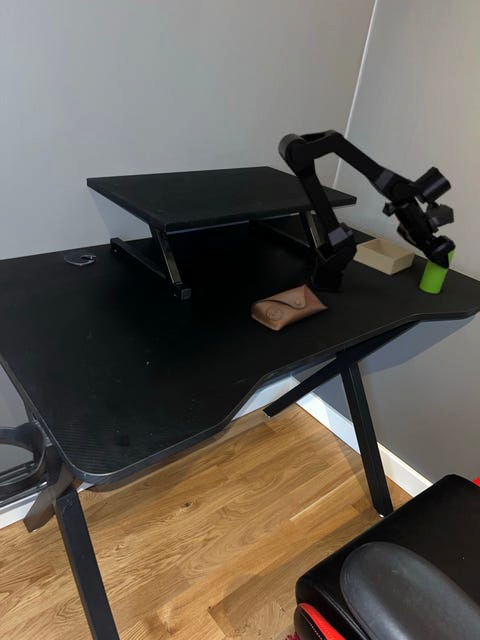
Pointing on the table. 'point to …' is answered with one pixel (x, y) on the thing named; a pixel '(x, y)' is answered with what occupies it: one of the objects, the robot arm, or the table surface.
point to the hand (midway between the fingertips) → (437, 260)
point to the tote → (384, 255)
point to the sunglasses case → (286, 308)
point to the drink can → (434, 276)
